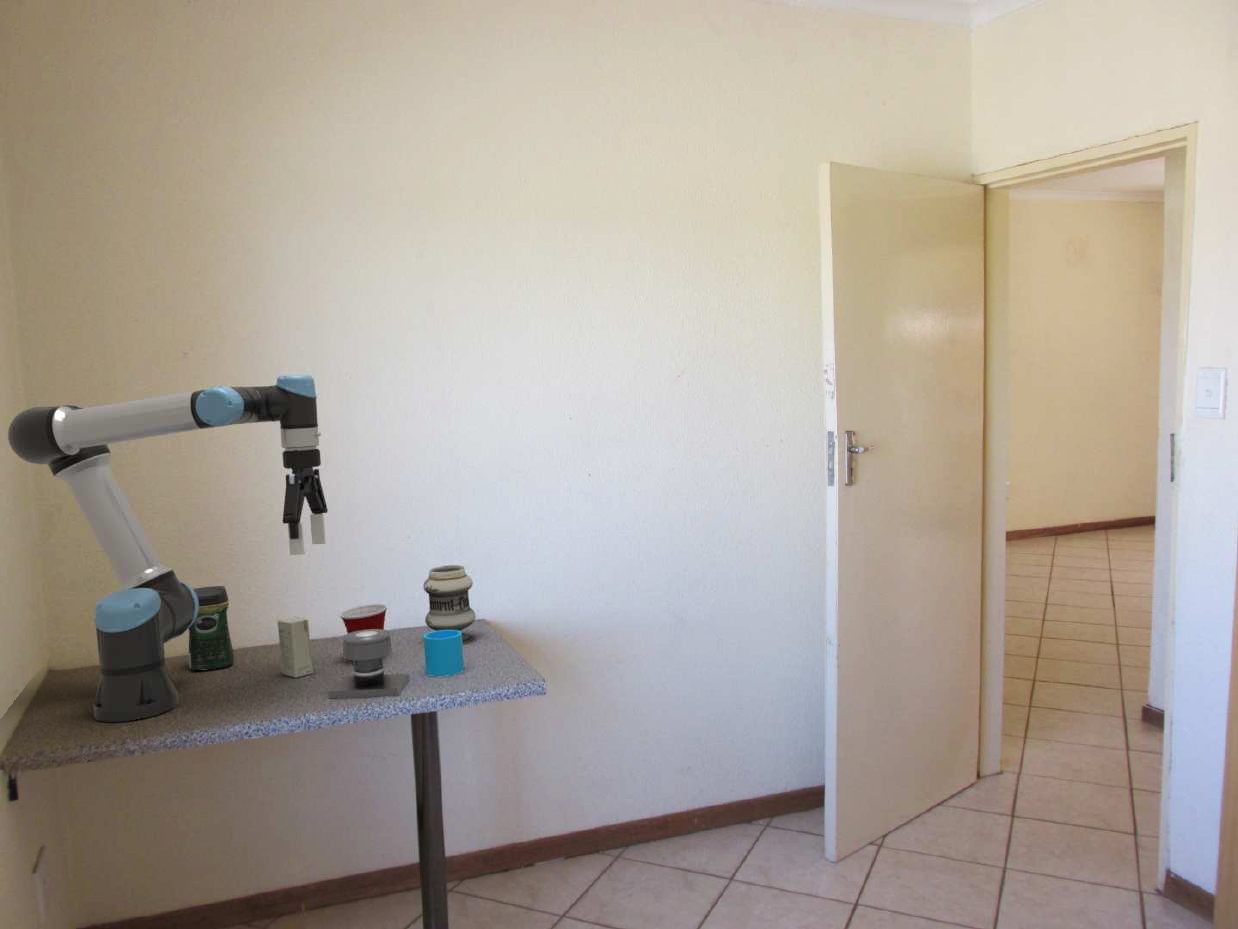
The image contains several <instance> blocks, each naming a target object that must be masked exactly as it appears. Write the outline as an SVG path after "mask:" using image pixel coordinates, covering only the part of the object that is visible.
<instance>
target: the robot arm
mask: <svg viewBox="0 0 1238 929" xmlns="http://www.w3.org/2000/svg"><path fill="white" fill-rule="evenodd" d="M315 386H316V385H315V379H314V378H313V376H312V375H310V374H290V375H288V374H287V375H279V376H278V377H277V378H276V383H275V384H273V385H270V386H268V385H267V386H266V385H265V386H264V385H263V386H262V385H261V386H226V385H225V386H224V385H219V386H212V387H209V388H208V387H207V388H206V389H201V390H194V391H187V392H182V393H180V392H179V393H176V394H175V393H174V394H167V395H162V396H155V397H148V398H144V399H137V400H130V401H124V402H123V401H122V402H117V403H112V404H104V405H99V406H92V407H83V406H79V405H76V404H72V405H71V404H66V405H60V406H59V405H58V406H56V405H55V406H36V407H35V406H34V407H31V408H28V409H25V410H23V411H21V412H19V413H18V414H17V415H16V416H15V417H14V418H13V420H12V421H11V423H10V424H9V427H8V431H7V440H8V444H9V446H10V448H11V450H12V451H13V452H14V454H15V455H17V457H19V458H21V459H22V460H23V461H26V462H28V463H30V464H36V465H47V466H48V467H49V470H50V471H51V474H52V476H53V478H54V479H56V480H59V481H63V482H65V483H66V484H67V486H68V488H69V490H70V492H71V493H72V496H73V497H74V499H75V501H76V502H77V504H78V507H79V509H80V510H81V512H82V514H83V515H84V517H85V519H86V521H87V524H88V525H89V527H90V529H91V531H92V532H93V534H94V536H95V538H96V540H97V542H98V544H99V545H100V548H101V550H102V551H103V553H104V555H105V557H106V559H107V560H108V562H109V565H110V567H111V568H112V570H113V572H114V574H115V576H116V578H117V579H118V581H119V584H120V586H119V590H118V592H113V593H110V594H107V595H105V596H103V598H101V599H100V600H98V602H97V603H96V605H95V608H94V615H95V616H94V625H95V631H96V632H95V633H96V642H97V643H96V644H97V653H98V663H99V672H100V674H99V675H100V678H99V683H98V686H97V691H96V694H95V698H94V703H93V707H92V708H93V717H94V719H95V718H96V719H95V720H96V721H99V722H106V723H118V722H119V723H120V722H130V720H131V721H136V719H137V720H142V719H141V718H143V719H147V718H151V717H154V716H155V717H156V716H158V715H160V713H161V714H164V713H166V712H168V711H171V710H172V709H174V708H175V707H176V706H178V704H179V697H178V696H179V695H178V691H177V689H176V686H175V684H174V681H173V680H172V677H171V676H170V674H169V671H168V668H167V667H166V658H165V646H164V645H165V644H166V643H168V642H170V641H171V640H173V639H174V640H175V639H176V638H178V637H180V636H182V635H183V634H184V633H185V632H187V630H189V628H190V627H191V626H192V624H193V623H194V622H195V620H196V618H197V615H198V611H199V602H198V598H197V595H196V593H195V591H194V590H193V589H194V588H192V586H191V585H189V584H187V583H185V582H183V581H180V580H179V579H178V577H177V575H176V573H175V572H174V570H173V568H171V567H168V566H165V565H163V564H162V563H161V561H160V560H159V557H158V555H157V554H156V552H155V550H154V548H153V546H152V544H151V543H150V541H149V538H148V537H147V535H146V533H145V531H144V529H143V528H142V526H141V524H140V521H139V520H138V518H137V516H136V515H135V512H134V510H133V509H132V506H131V505H130V503H129V501H128V499H127V497H126V495H125V493H124V492H123V490H122V488H121V486H120V484H119V482H118V480H117V478H116V477H115V475H114V473H113V471H112V469H111V468H110V461H111V460H112V456H113V455H112V452H111V451H110V449H109V448H110V447H109V446H108V445H110V444H116V443H122V442H127V441H128V442H129V441H135V440H141V439H142V440H143V439H146V438H147V439H148V438H154V437H159V436H160V437H161V436H166V435H172V434H179V433H180V434H181V433H184V432H191V431H197V430H204V429H205V430H206V429H212V428H218V427H225V426H226V427H227V426H231V425H233V426H234V425H242V424H243V425H244V424H254V423H256V424H257V423H268V422H273V423H275V422H279V424H280V425H279V428H280V441H281V442H280V444H281V448H282V449H284V450H283V452H282V453H281V455H282V463H283V464H282V465H283V466H282V467H283V468H284V469H287V470H288V469H289V470H290V469H291V473H290V474H288V473H287V474H286V475H285V491H284V493H285V494H284V502H283V503H284V504H283V512H282V514H283V515H282V524H283V525H284V524H287V531H288V533H287V534H288V543H289V545H288V546H289V554H290V556H299V555H304V554H305V543H304V542H305V540H304V528H303V522H301V518H302V512H303V507H304V504H305V503H304V502H305V499H306V502H307V505H308V507H309V509H310V511H311V513H310V514H309V517H310V519H309V520H310V521H309V522H310V532H311V544H312V545H324V544H326V543H327V542H326V532H325V519H324V518H325V517H324V516H325V515H324V514H327V513H328V512H329V510H328V507H327V502H326V498H325V494H324V490H323V487H322V482H321V479H320V478H321V477H320V470H319V468H316V467H320V466H321V465H322V463H321V462H322V461H321V451H320V449H319V448H317V447H319V446H320V438H319V437H321V435H322V433H321V432H320V431H319V424H318V407H317V406H318V405H317V398H318V397H317V395H316V394H317V393H316V387H315ZM175 705H176V706H175ZM174 706H175V707H174ZM173 707H174V708H173ZM170 709H171V710H170ZM165 711H166V712H165ZM163 712H164V713H163Z"/></svg>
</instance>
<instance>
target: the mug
mask: <svg viewBox="0 0 1238 929" xmlns="http://www.w3.org/2000/svg"><path fill="white" fill-rule="evenodd" d="M462 633H463V632H462V630H460V631H458V630H440V631H436V630H434V631H430V632H427V633H425V634H424V635H423V646H424V647H423V648H424V650H423V651H424V662H425V674H426V675H427V676H429V675H433V676H445V675H452V676H455V675H454V674H456V675H458V674H457V673H459V672H461V671H462V670H463V669H464V670H465V660H464V647H463V645H464V644H462ZM461 673H462V672H461ZM459 674H460V673H459ZM433 676H432V677H433Z"/></svg>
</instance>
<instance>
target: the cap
mask: <svg viewBox="0 0 1238 929" xmlns="http://www.w3.org/2000/svg"><path fill="white" fill-rule="evenodd" d="M390 634H391V633H390V631H389V630H386V629H384V630H383V629H368V630H360V631H355V632H351V633H346V634H345V635H343V636H342V637H343V641H342V649H343V650H342V651H343V658H345V659H346V660H350V661H353V660H370V659H375V658H380V657H383V658H384V657H386V656H388V655H389V654H390V653H392V640H391V635H390Z"/></svg>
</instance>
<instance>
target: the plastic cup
mask: <svg viewBox="0 0 1238 929" xmlns="http://www.w3.org/2000/svg"><path fill="white" fill-rule="evenodd" d="M387 610H388V605H387V604H384V603H369V604H364V605H358V606H355V607H354V606H353V607H350V608H348V609H345V610H343V611H342V612H340V613H339V618H341V620H342V622H343V624H344V627H345V629H346V634H348V633H351V632H355V631H360V630H368V629H383V630H385V621H386V613H387Z"/></svg>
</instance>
